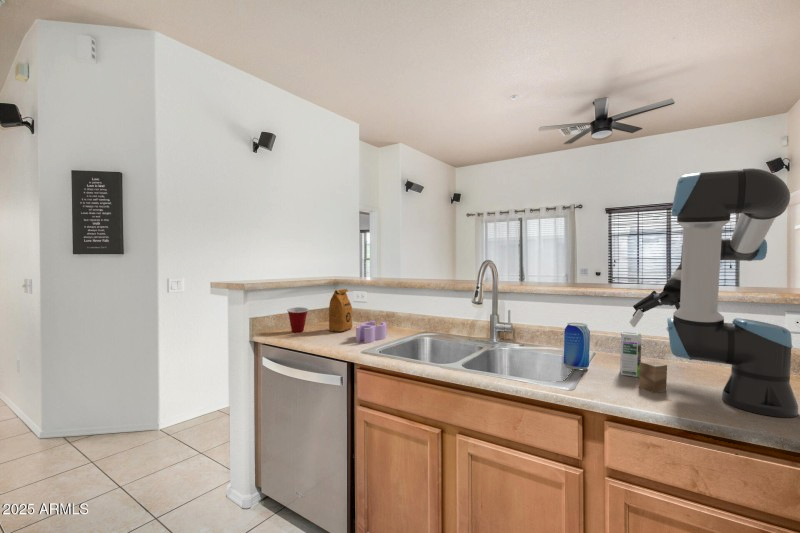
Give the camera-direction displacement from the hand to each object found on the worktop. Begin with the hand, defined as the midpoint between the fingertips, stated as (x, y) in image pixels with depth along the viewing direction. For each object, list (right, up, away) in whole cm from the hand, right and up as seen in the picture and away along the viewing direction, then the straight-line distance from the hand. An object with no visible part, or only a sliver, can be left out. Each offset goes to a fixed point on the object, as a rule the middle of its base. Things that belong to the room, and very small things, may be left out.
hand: (649, 328), depth 134 cm
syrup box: (-9, -16, -3) cm, 18 cm away
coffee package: (-120, -12, +66) cm, 138 cm away
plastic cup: (-142, -12, +61) cm, 155 cm away
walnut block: (-11, -16, -18) cm, 26 cm away
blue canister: (-24, -15, +4) cm, 29 cm away
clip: (-103, -13, +48) cm, 114 cm away
